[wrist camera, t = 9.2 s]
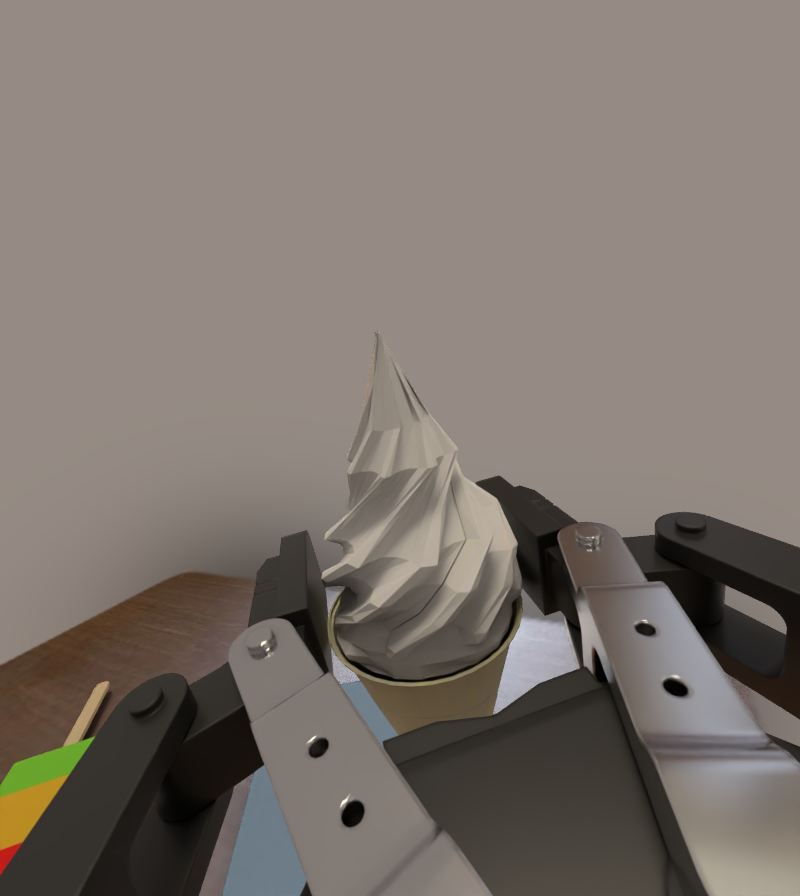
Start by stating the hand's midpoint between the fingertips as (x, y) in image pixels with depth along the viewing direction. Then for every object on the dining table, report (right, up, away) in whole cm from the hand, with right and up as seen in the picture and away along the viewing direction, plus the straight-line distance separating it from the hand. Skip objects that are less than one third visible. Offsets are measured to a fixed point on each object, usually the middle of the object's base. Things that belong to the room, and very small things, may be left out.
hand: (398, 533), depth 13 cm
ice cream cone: (+2, -9, +1) cm, 9 cm away
